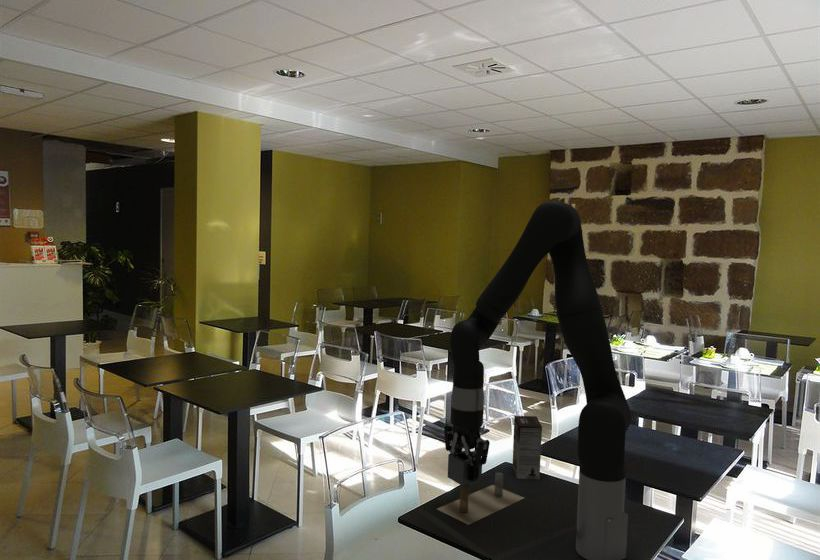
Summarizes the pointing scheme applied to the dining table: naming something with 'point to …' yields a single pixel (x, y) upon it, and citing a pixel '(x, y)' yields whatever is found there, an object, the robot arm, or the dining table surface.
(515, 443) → the coffee box
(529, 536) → the dining table surface
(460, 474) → the collar
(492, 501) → the board
